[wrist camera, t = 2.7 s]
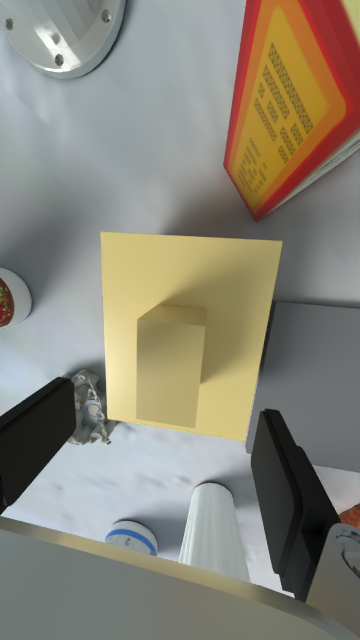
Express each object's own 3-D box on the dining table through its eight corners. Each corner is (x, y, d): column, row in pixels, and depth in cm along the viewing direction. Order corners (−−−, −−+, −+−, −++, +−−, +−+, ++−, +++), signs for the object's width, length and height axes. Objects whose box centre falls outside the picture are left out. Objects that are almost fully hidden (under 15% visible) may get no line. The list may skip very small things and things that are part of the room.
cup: (258, 507, 31) (291, 671, 18) (204, 525, 33) (201, 679, 21) (221, 461, 30) (231, 604, 17) (169, 483, 32) (143, 621, 20)
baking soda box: (316, 89, 18) (1005, -1048, 2) (349, 157, 19) (1003, -353, 3) (223, 165, 20) (268, -154, 5) (256, 222, 21) (381, 105, 6)
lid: (117, 237, 18) (52, 216, 11) (270, 245, 17) (321, 227, 9) (120, 400, 23) (76, 465, 15) (240, 418, 22) (257, 502, 14)
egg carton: (124, 424, 31) (112, 447, 27) (83, 431, 32) (66, 454, 28) (97, 363, 29) (79, 379, 25) (54, 374, 30) (32, 391, 26)
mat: (273, 300, 23) (276, 302, 22) (444, 315, 21) (455, 317, 20) (245, 446, 28) (246, 453, 27) (377, 469, 26) (384, 476, 25)
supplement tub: (169, 540, 36) (143, 719, 22) (139, 561, 38) (98, 731, 24) (126, 509, 35) (72, 671, 21) (99, 532, 38) (34, 689, 24)
